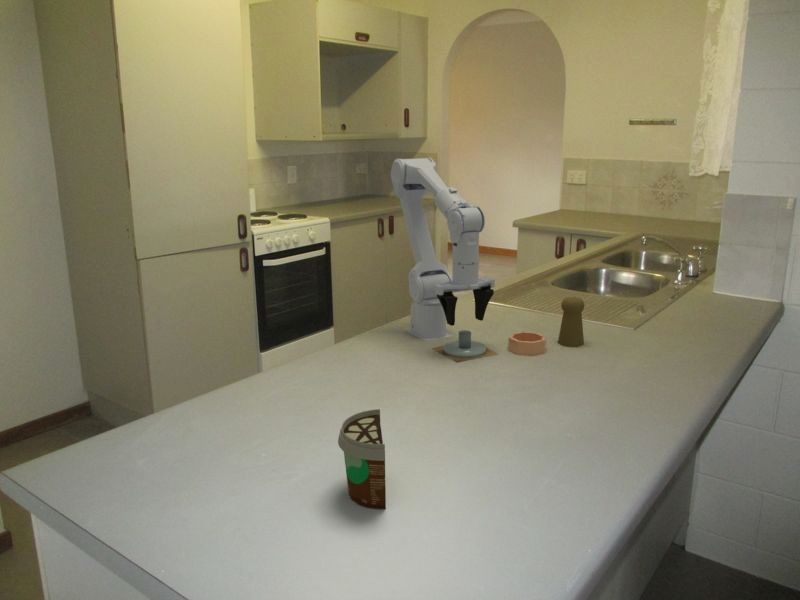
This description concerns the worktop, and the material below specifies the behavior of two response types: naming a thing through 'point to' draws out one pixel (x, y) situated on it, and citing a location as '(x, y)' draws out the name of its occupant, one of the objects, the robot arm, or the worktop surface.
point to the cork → (571, 322)
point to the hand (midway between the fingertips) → (465, 322)
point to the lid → (464, 347)
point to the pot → (527, 343)
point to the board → (441, 350)
